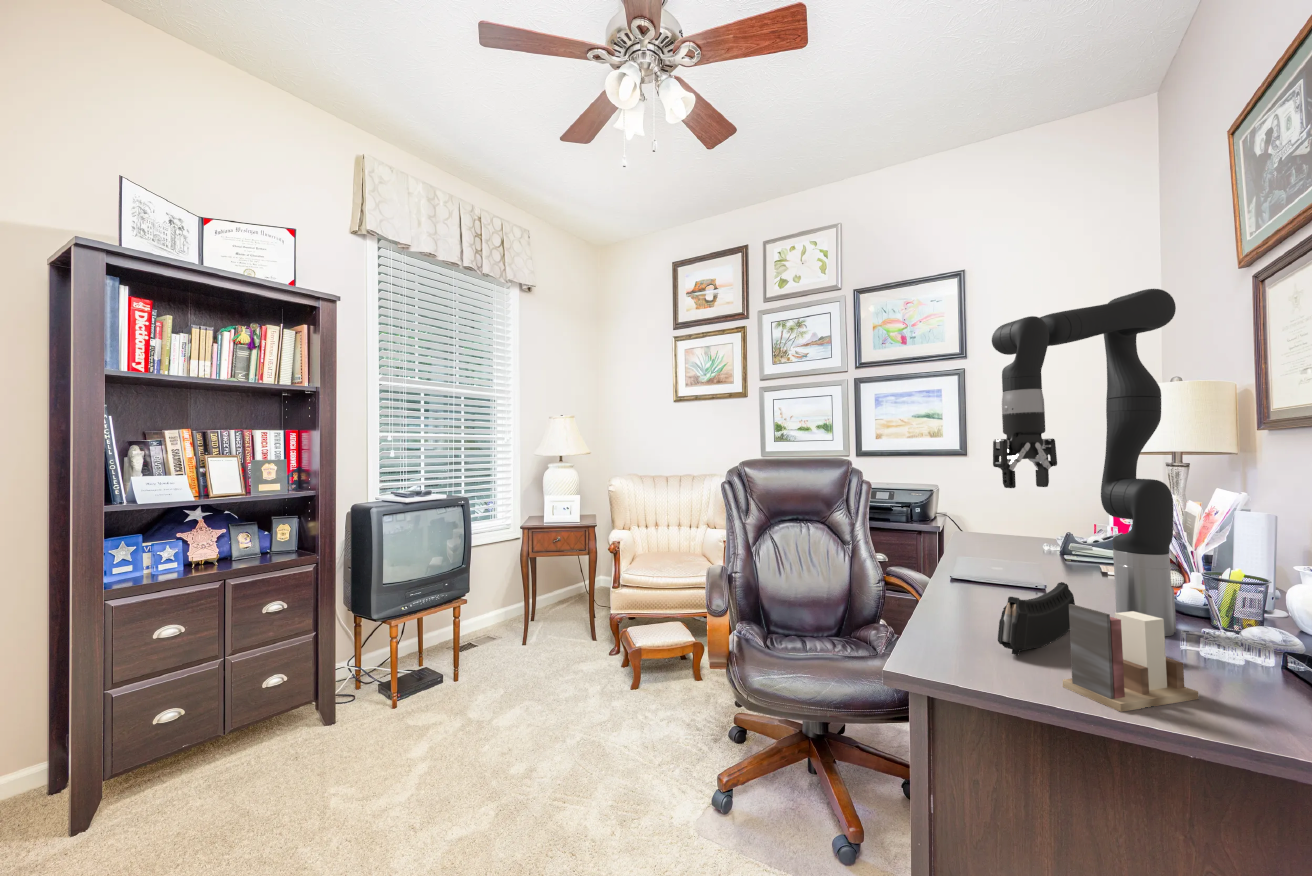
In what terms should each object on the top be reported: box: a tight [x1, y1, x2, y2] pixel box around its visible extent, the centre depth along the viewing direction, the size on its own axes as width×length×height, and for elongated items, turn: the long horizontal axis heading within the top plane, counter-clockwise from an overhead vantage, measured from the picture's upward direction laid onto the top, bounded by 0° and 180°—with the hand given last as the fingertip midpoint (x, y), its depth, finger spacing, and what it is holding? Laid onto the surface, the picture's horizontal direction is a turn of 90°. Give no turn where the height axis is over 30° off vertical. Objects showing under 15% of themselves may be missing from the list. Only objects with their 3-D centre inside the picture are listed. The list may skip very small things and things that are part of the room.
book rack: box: [1062, 604, 1199, 713], centre depth 86 cm, size 16×9×14 cm, turn 103°
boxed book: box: [1114, 611, 1167, 690], centre depth 87 cm, size 4×4×11 cm
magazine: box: [997, 581, 1076, 656], centre depth 110 cm, size 17×3×30 cm
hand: (1026, 487), depth 112 cm, fingers open, 8 cm apart
